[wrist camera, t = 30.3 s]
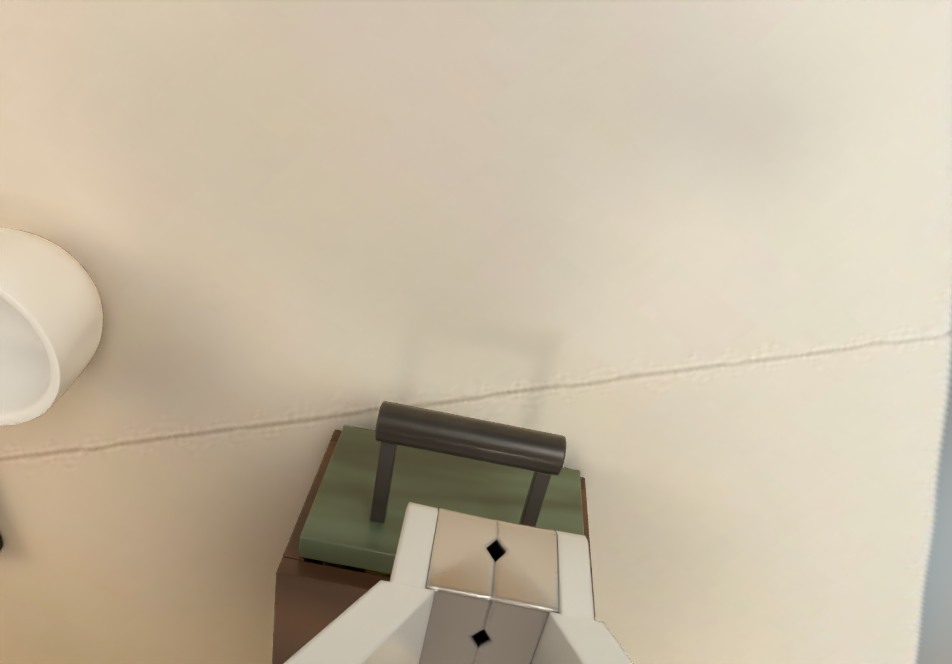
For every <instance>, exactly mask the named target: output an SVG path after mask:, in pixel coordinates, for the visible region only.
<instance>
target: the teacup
mask: <svg viewBox="0 0 952 664" xmlns="http://www.w3.org/2000/svg"><path fill="white" fill-rule="evenodd" d="M102 328H103V310H102V304H101V300H100V297H99V294H98V291H97V289H96V287H95V285H94V283H93V281H92V279H91V278H90V276H89V275H88V273H87V272H86V271H85V269H84V268H83V267H82V266H81V265H80V263H79V262H78V261H77V260H76V259H74V258H73V257H72V256H71V255H70V254H69V253H67V252H66V251H65V250H63V249H62V248H61V247H59V246H57V245H56V244H54V243H52V242H50V241H48V240H46V239H44V238H42V237H40V236H37V235H34V234H31V233H28V232H25V231H20V230H15V229H9V228H0V425H14V424H20V423H24V422H27V421H30V420H33V419H35V418H37V417H39V416H40V415H42V414H43V413H44V412H46V411H47V410H48V409H49V408H50V407H51V406H52V405H53V404H54V403H55V402H56V401H57V400H58V399H59V398H60V397H61V396H62V395H63V394H64V393H65V392H66V390H67V389H68V388H69V387H70V386H71V385H72V383H73V382H74V381H75V380H76V379H77V378H78V376H79V375H80V374H81V373H82V371H83V370H84V369H85V368H86V366H87V365H88V364H89V362H90V361H91V359H92V358H93V356H94V354H95V352H96V350H97V348H98V345H99V342H100V339H101V334H102Z"/></svg>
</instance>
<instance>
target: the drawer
mask: <svg viewBox="0 0 952 664" xmlns="http://www.w3.org/2000/svg"><path fill="white" fill-rule="evenodd" d="M565 453H566V438H565V437H564V436H561V435H556V434H551V433H546V432H541V431H536V430H531V429H525V428H520V427H515V426H510V425H505V424H500V423H495V422H490V421H484V420H479V419H474V418H469V417H464V416H459V415H454V414H449V413H443V412H438V411H433V410H428V409H423V408H418V407H413V406H408V405H402V404H397V403H392V402H387V401H384V402H383V403H382V405H381V407H380V411H379V415H378V419H377V424H376V430H375V431H372V430H367V429H362V428H356V427H351V426H346V425H345V426H344V427H343V429H342V432H341V434H340V437H339V439H338V442H337V444H336V447H335V449H334V452H333V454H332V457H331V459H330V462H329V465H328V467H327V470H326V472H325V475H324V477H323V480H322V482H321V485H320V487H319V490H318V492H317V495H316V497H315V500H314V502H313V505H312V507H311V510H310V513H309V515H308V518H307V520H306V523H305V525H304V528H303V530H302V533H301V535H300V544H299V556H300V557H303V558H308V559H314V560H319V561H323V562H322V564H321V565H327V566H332V567H337V568H342V569H348V570H353V571H358V572H363V573H364V570H365V569H366V570H371V571H377V572H382V573H387V574H391V573H392V569H393V565H394V560H395V556H396V552H397V547H398V543H399V538H400V534H401V530H402V525H403V521H404V517H405V512H406V509H407V506H408V504H409V502H412V503H416V504H421V505H425V506H430V507H435V508H438V512H439V508H442V509H447V510H451V511H456V512H461V513H465V514H470V515H474V516H479V517H484V518H488V519H493V520H501V521H506V522H512V523H517V524H523V525H528V526H534V527H539V528H545V529H550V530H554V531H561V532H567V533H572V534H578V535H583V536H584V526H583V511H582V496H581V481H580V471H578V470H573V469H567V468H562V467H563V464H564V459H565Z"/></svg>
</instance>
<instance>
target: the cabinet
mask: <svg viewBox="0 0 952 664" xmlns="http://www.w3.org/2000/svg"><path fill="white" fill-rule="evenodd" d="M341 432H342V431H339V430H335V431H334V433H333V435H332V438H331V440H330V443H329V445H328V448H327V450H326V452H325V455H324V457H323V460H322V462H321V465H320V467H319V469H318V472H317V474H316V477H315V479H314V482H313V484H312V487H311V489H310V491H309V494H308V496H307V499H306V501H305V504H304V506H303V508H302V511H301V513H300V516H299V518H298V521H297V523H296V525H295V528H294V530H293V533H292V535H291V538H290V540H289V543H288V545H287V547H286V550H285V552H284V555H283V558H282V560H281V562H280V565H279V567H278V570H277V572H276V588H275V611H274V634H273V656H272V664H283V663H285V662H286V661H287V660H288V659H289V658H290V657H292V656H293V655H294V654H295V653H296V652H297V651H299V650H300V649H301V648H302V647H303V646H304V645H306V644H307V643H308V642H309V641H310V640H311V639H313V638H314V637H315V636H316V635H317V634H318V633H320V632H321V631H322V630H323V629H324V628H325V627H327V626H328V625H329V624H330V623H331V622H332V621H334V620H335V619H336V618H337V617H338V616H339V615H341V614H342V613H343V612H344V611H345V610H346V609H348V608H349V607H350V606H351V605H352V604H353V603H355V602H356V601H357V600H358V599H359V598H360V597H362V596H363V595H364V594H365V593H366V592H367V591H369V590H370V589H371V588H372V587H373V586H374V585H376V584H377V583H378V582H379V581H380V580H383V581H389V582H390V577H384V576H379V575H374V574H369V573H363V572H358V571H353V570H348V569H342V568H337V567H332V566H327V565H321V564H322V562H323V561H319V560H314V559H308V558H303V557H300V556H299V544H300V535H301V533H302V530H303V528H304V525H305V523H306V520H307V518H308V515H309V513H310V510H311V507H312V505H313V502H314V500H315V497H316V495H317V492H318V490H319V487H320V485H321V482H322V480H323V477H324V475H325V472H326V470H327V467H328V465H329V462H330V459H331V457H332V454H333V452H334V449H335V447H336V444H337V442H338V439H339V437H340V434H341ZM580 481H581V496H582V511H583V526H584V536H586V538H587V540H588V546H589V558H590V570H591V583H592V595H593V607H594V594H593V580H592V567H591V554H590V540H589V527H588V514H587V500H586V488H585V478H581V477H580ZM594 619H595V607H594Z"/></svg>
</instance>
